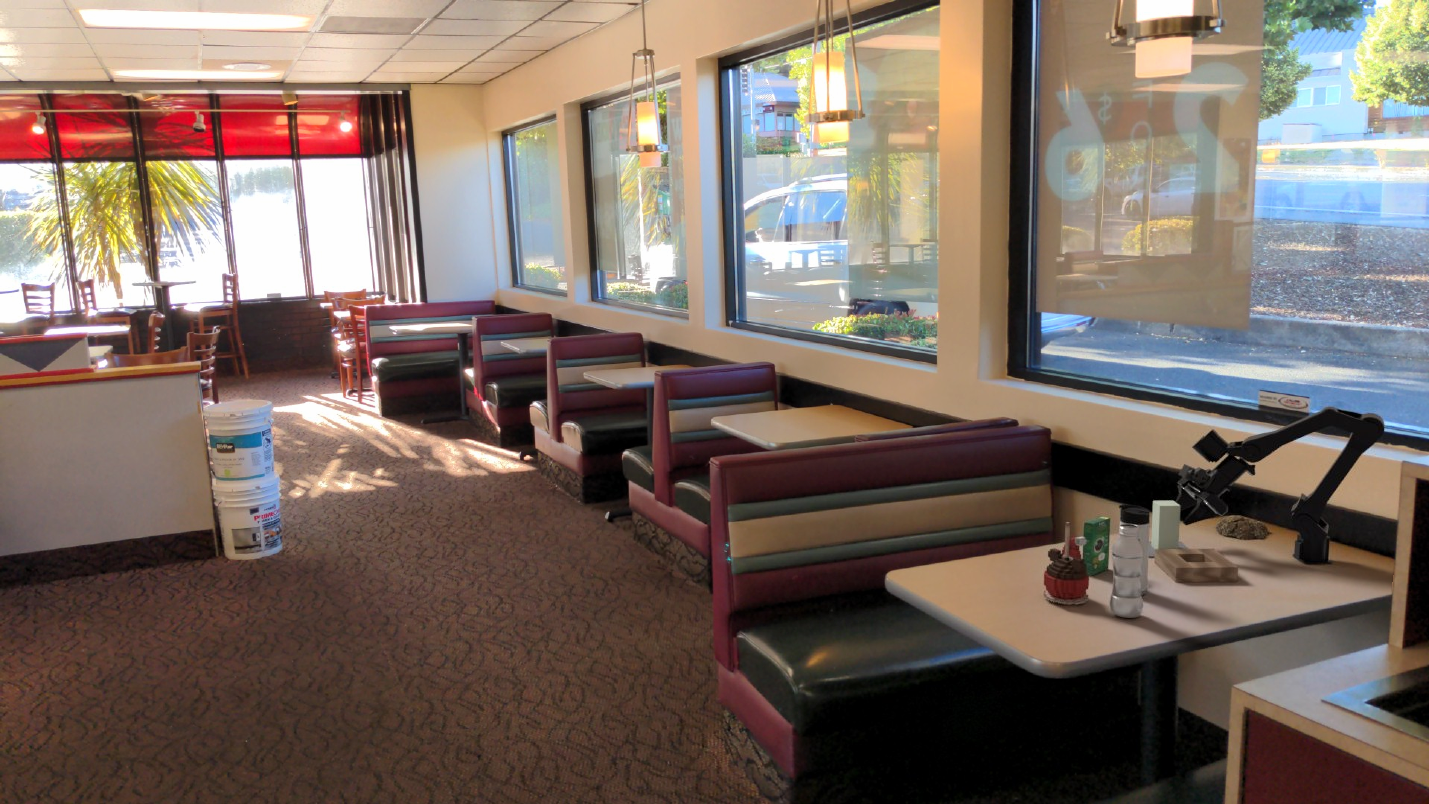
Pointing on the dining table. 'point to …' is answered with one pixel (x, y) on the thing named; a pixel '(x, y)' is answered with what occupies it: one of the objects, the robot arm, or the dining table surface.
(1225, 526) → the brown rock
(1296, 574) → the dining table surface
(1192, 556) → the holder
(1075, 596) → the cake
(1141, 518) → the travel mug
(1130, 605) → the plastic bottle
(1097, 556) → the coffee box
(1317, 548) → the robot arm
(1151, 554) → the mat
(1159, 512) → the block
